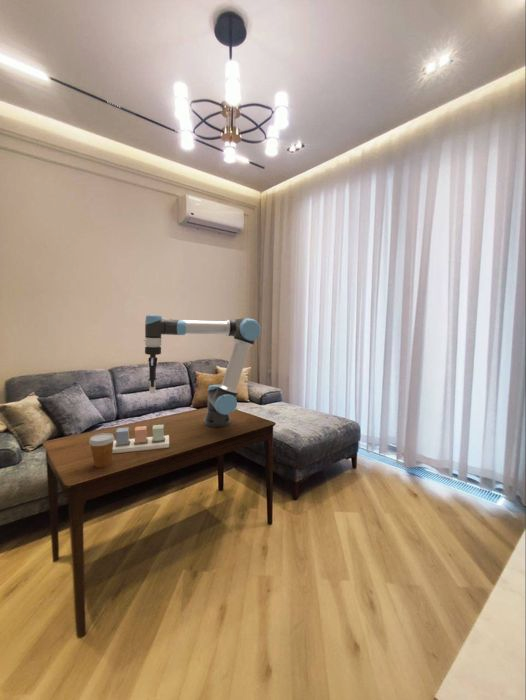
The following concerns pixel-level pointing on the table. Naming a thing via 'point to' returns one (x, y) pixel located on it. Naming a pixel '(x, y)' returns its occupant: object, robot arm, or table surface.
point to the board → (140, 445)
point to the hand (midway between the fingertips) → (152, 392)
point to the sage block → (158, 432)
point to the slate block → (122, 435)
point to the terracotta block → (140, 434)
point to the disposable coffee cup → (102, 449)
